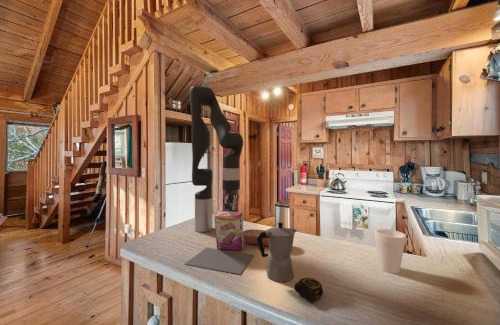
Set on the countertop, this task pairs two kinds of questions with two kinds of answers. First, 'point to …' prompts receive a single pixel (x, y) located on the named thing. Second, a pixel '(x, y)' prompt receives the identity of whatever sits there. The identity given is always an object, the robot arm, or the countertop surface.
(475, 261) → the countertop surface
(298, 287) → the tape measure
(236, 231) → the candy bar box
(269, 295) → the countertop surface
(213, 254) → the mat
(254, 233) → the anatomical model
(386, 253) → the foam cup
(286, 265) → the coffeepot
